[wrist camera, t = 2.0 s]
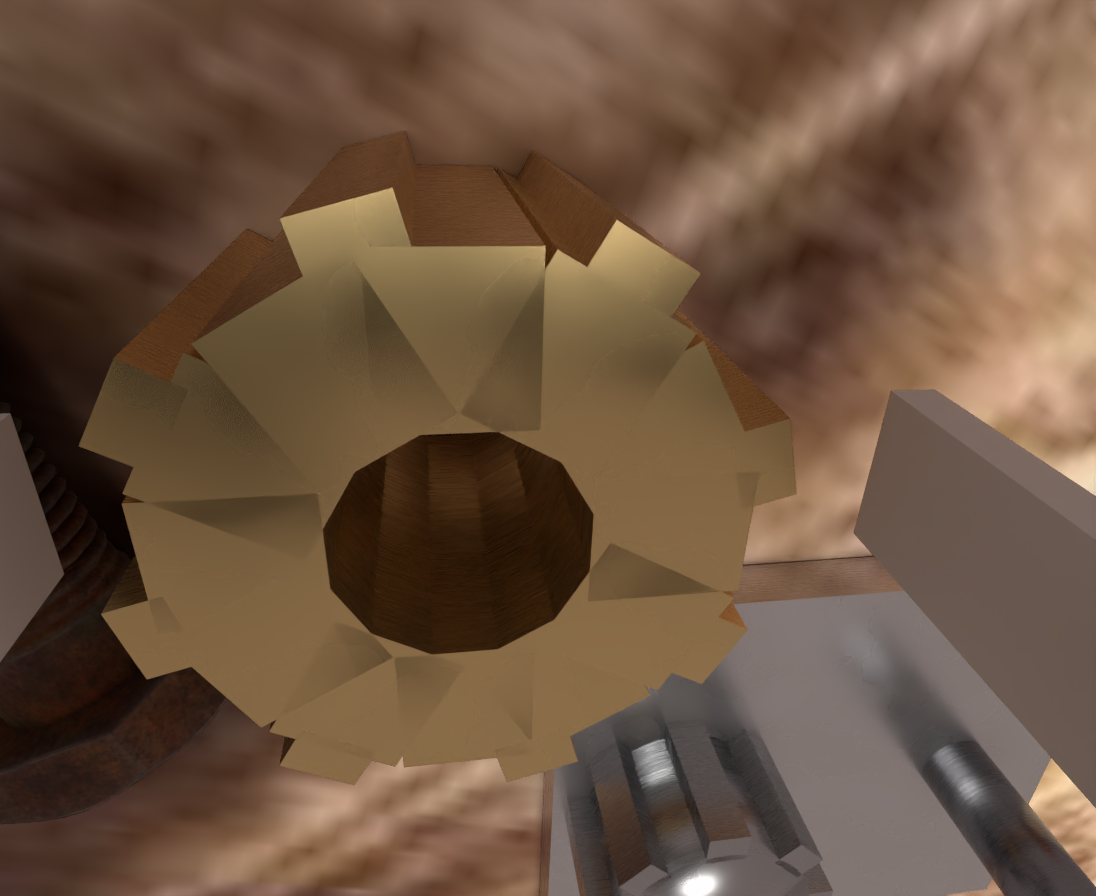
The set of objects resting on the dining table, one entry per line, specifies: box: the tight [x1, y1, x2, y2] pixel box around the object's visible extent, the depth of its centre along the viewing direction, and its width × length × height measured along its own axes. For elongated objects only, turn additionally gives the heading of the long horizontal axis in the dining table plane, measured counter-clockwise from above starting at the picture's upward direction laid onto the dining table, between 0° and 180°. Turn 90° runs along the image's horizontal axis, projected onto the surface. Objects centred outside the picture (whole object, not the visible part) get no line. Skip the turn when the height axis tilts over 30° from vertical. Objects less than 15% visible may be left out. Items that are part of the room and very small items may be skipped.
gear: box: [79, 131, 796, 785], centre depth 13 cm, size 9×9×7 cm
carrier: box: [539, 557, 1096, 896], centre depth 20 cm, size 16×14×7 cm
